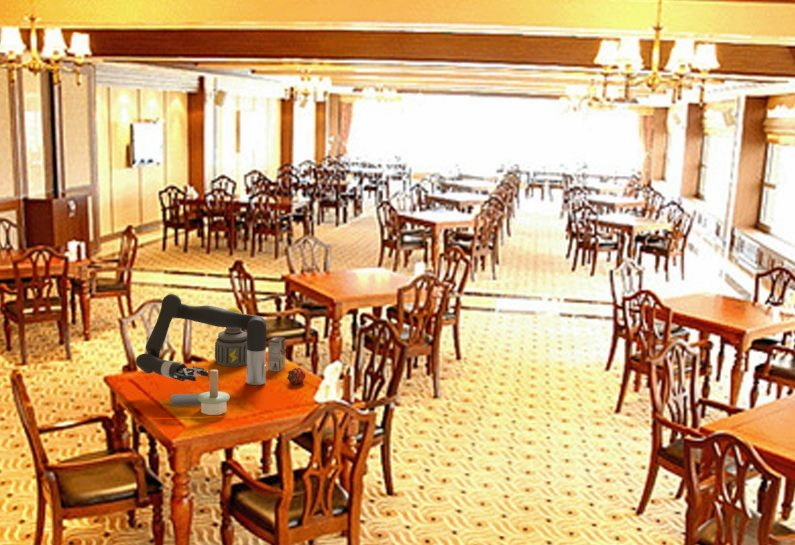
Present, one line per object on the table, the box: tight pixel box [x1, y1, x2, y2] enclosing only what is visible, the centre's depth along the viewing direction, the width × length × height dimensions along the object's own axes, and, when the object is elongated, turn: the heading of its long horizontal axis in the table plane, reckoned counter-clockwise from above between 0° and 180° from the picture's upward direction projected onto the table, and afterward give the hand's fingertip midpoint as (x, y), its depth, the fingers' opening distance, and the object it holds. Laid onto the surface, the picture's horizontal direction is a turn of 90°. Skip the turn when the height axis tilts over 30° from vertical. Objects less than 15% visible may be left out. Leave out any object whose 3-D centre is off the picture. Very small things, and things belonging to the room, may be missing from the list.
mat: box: [170, 393, 201, 407], centre depth 397 cm, size 16×16×1 cm
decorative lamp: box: [214, 306, 247, 368], centre depth 456 cm, size 19×19×30 cm
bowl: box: [200, 401, 228, 416], centre depth 385 cm, size 11×11×6 cm
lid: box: [198, 369, 231, 404], centre depth 383 cm, size 14×14×13 cm
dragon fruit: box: [287, 367, 307, 385], centre depth 429 cm, size 8×8×12 cm
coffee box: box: [267, 336, 286, 372], centre depth 449 cm, size 9×6×16 cm
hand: (201, 376), depth 385 cm, fingers open, 8 cm apart
